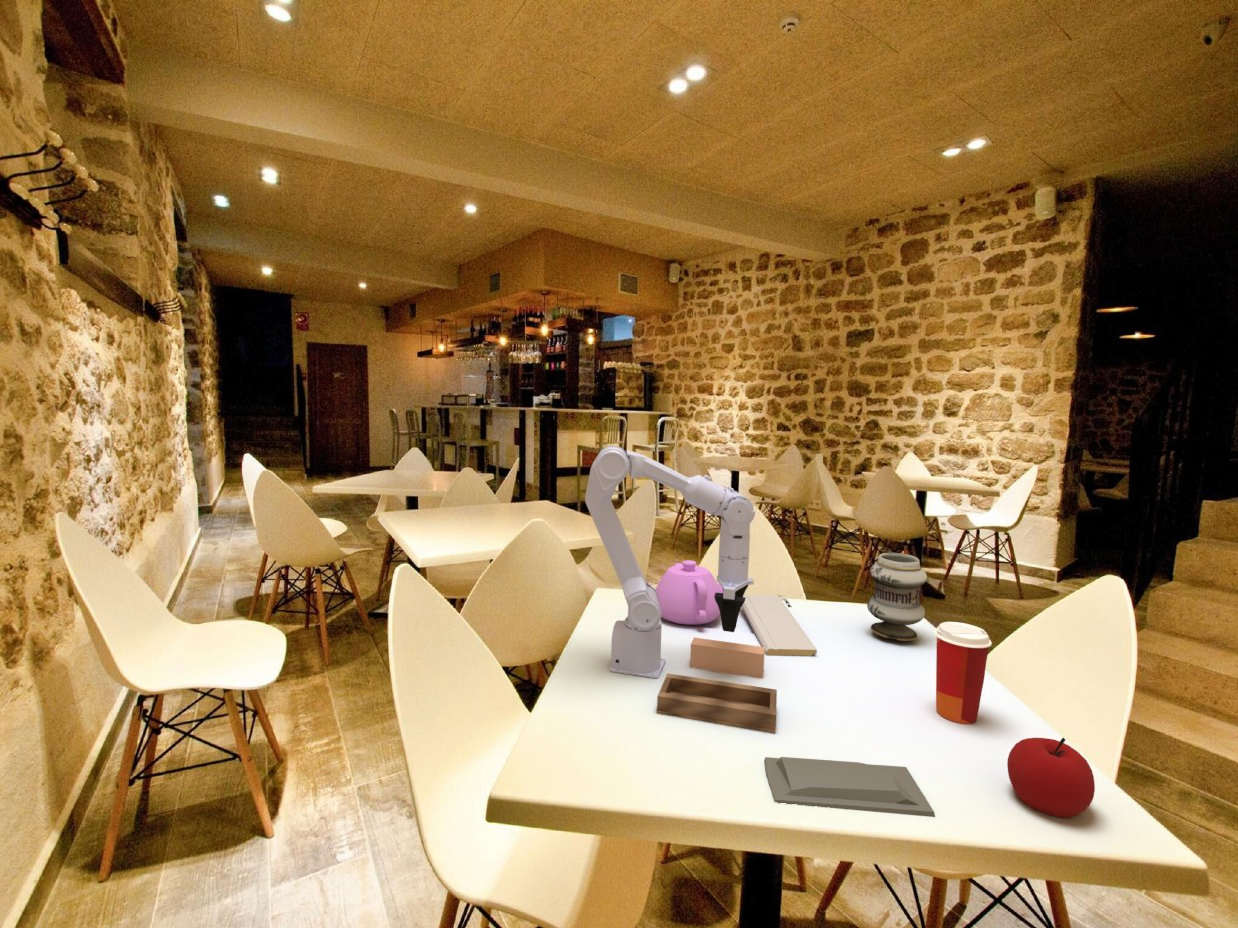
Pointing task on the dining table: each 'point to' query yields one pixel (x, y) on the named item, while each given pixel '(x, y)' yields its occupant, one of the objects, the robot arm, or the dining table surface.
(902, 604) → the apothecary jar
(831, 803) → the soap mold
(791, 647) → the baseboard
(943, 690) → the coffee cup
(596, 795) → the dining table surface
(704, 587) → the teapot
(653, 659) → the robot arm
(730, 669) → the clay block
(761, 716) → the tray
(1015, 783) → the apple
